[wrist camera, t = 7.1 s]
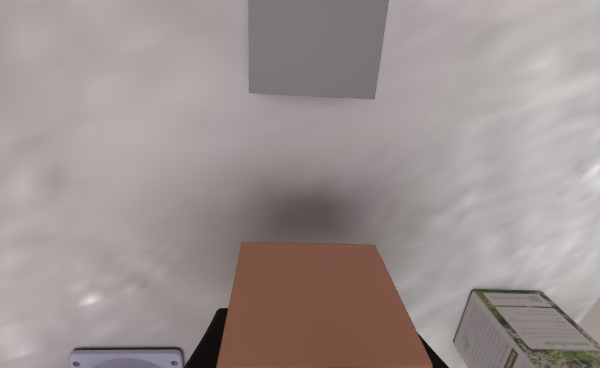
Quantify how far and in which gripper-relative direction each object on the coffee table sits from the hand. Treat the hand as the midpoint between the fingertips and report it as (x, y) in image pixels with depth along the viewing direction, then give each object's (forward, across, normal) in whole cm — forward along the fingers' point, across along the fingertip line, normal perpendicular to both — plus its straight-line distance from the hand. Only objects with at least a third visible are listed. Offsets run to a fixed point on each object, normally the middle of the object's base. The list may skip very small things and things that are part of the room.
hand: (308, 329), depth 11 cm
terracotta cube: (+2, 0, 0) cm, 2 cm away
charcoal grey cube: (+10, 0, -10) cm, 14 cm away
